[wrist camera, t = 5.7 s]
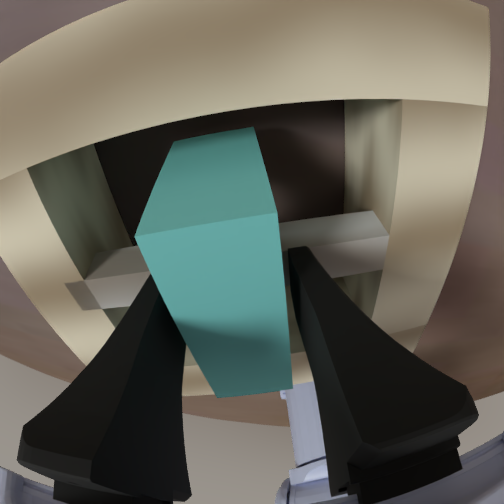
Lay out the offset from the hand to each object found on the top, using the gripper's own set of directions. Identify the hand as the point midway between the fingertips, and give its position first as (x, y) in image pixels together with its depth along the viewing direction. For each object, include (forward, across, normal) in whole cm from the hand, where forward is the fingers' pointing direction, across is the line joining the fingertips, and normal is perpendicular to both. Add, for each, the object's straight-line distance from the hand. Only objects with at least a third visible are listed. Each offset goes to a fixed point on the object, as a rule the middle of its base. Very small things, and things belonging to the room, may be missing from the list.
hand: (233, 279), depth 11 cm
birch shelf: (+5, 0, 0) cm, 5 cm away
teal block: (+4, 0, 0) cm, 4 cm away
